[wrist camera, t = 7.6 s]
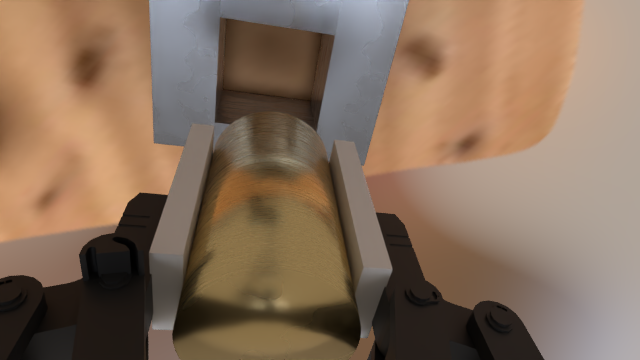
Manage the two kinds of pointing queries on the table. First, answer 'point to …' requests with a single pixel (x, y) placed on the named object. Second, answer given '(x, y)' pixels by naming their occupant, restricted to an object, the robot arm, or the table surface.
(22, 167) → the table surface
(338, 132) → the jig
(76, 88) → the table surface
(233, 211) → the brass cylinder
